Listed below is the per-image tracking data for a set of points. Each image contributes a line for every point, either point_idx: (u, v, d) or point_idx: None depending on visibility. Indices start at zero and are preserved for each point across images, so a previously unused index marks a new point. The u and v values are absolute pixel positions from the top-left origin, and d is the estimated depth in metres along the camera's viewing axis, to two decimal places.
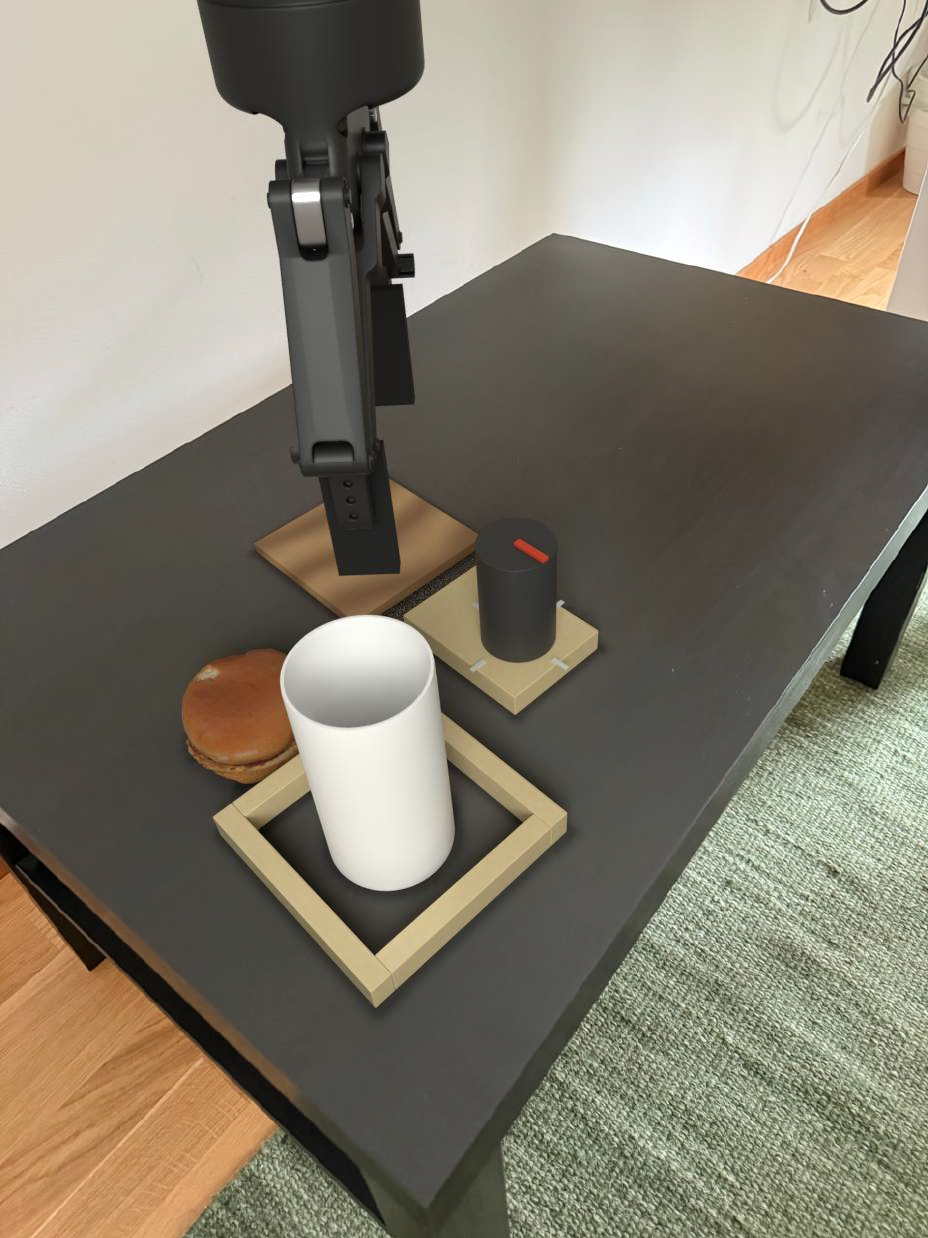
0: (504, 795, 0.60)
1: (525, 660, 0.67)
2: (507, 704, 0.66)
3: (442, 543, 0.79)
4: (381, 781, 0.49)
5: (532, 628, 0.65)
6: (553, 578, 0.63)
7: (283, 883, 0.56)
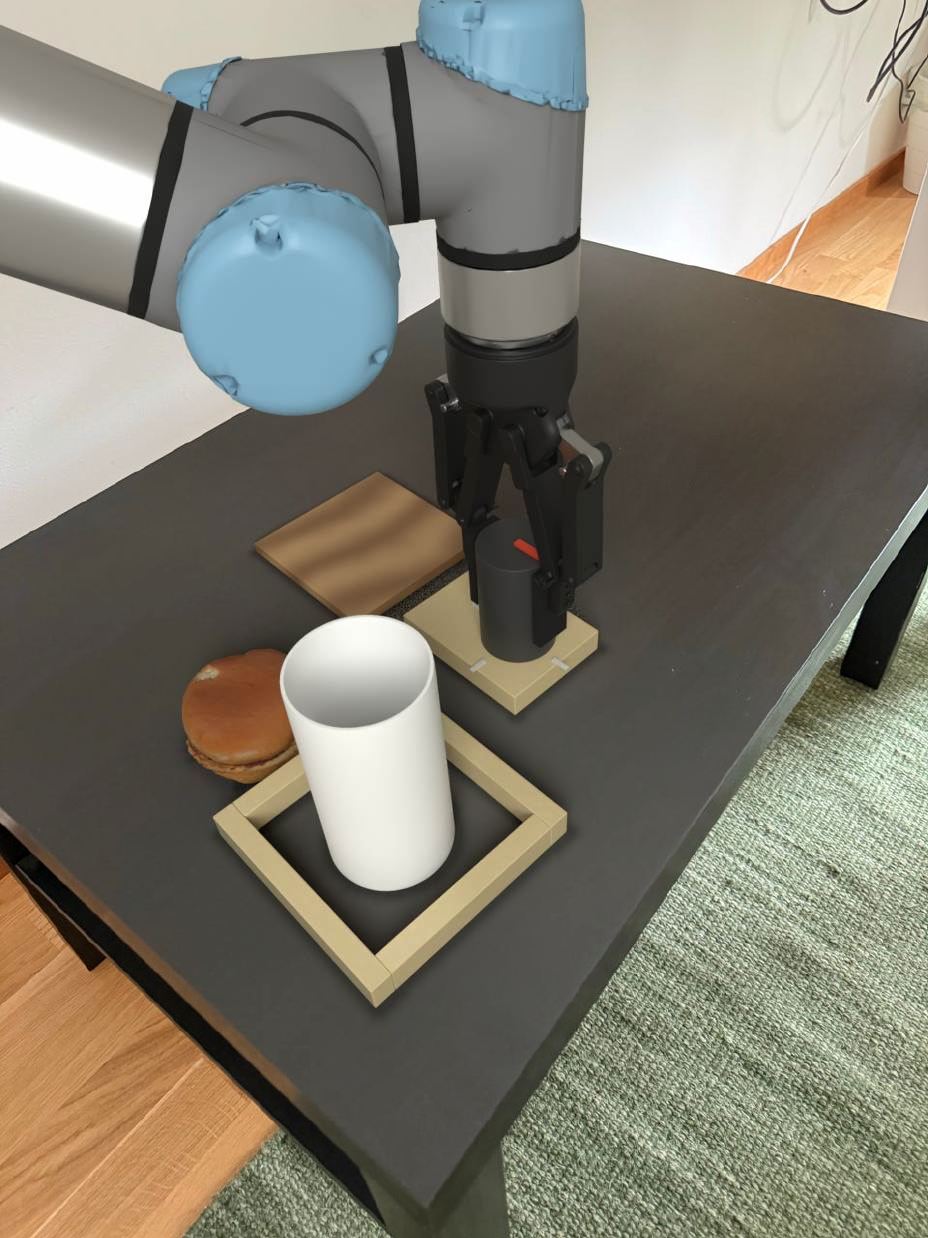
0: (504, 795, 0.60)
1: (525, 660, 0.67)
2: (507, 704, 0.66)
3: (442, 543, 0.79)
4: (380, 781, 0.49)
5: (532, 628, 0.65)
6: None
7: (283, 883, 0.56)
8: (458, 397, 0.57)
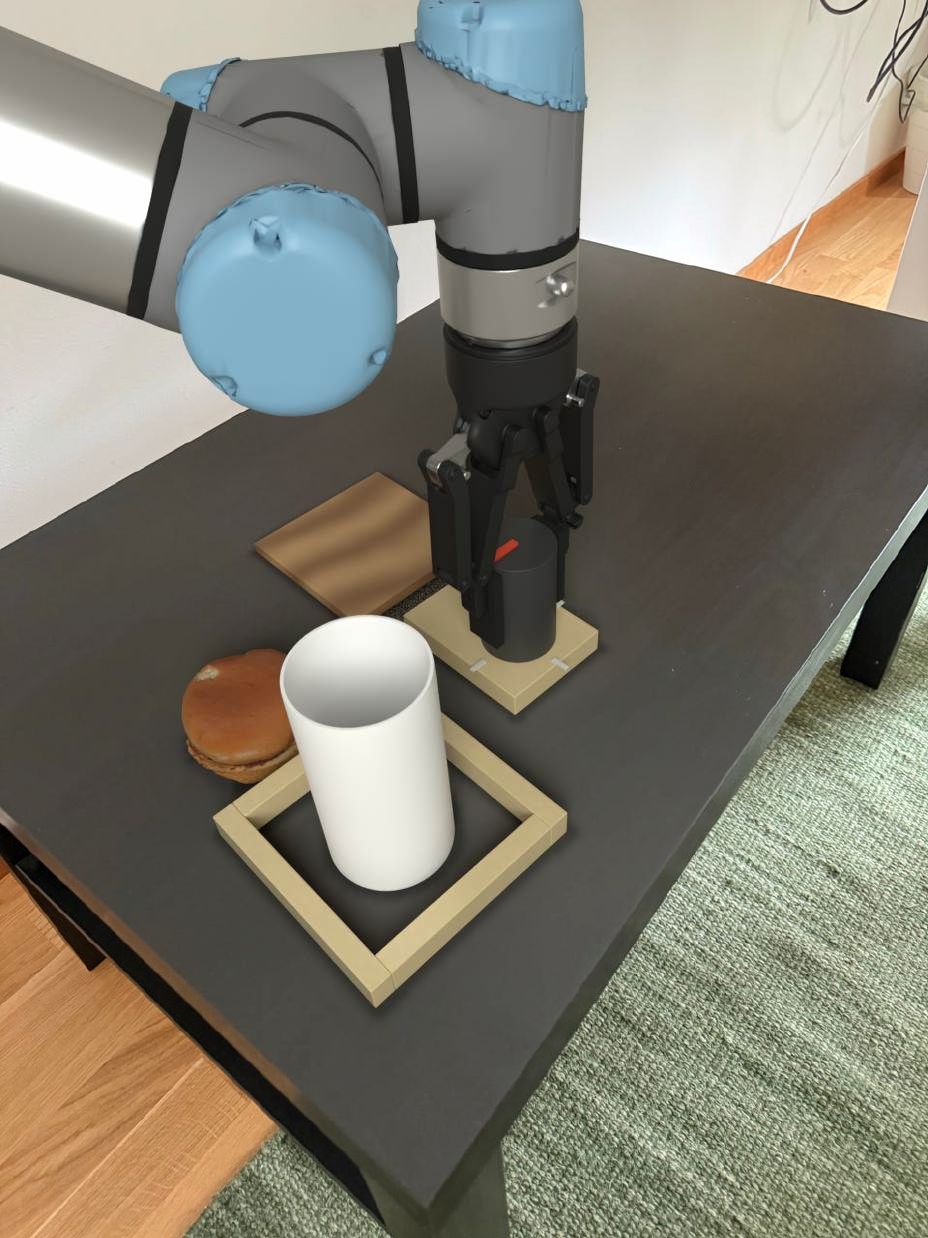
0: (504, 795, 0.60)
1: None
2: (507, 704, 0.66)
3: None
4: (380, 781, 0.49)
5: None
6: None
7: (283, 883, 0.56)
8: None
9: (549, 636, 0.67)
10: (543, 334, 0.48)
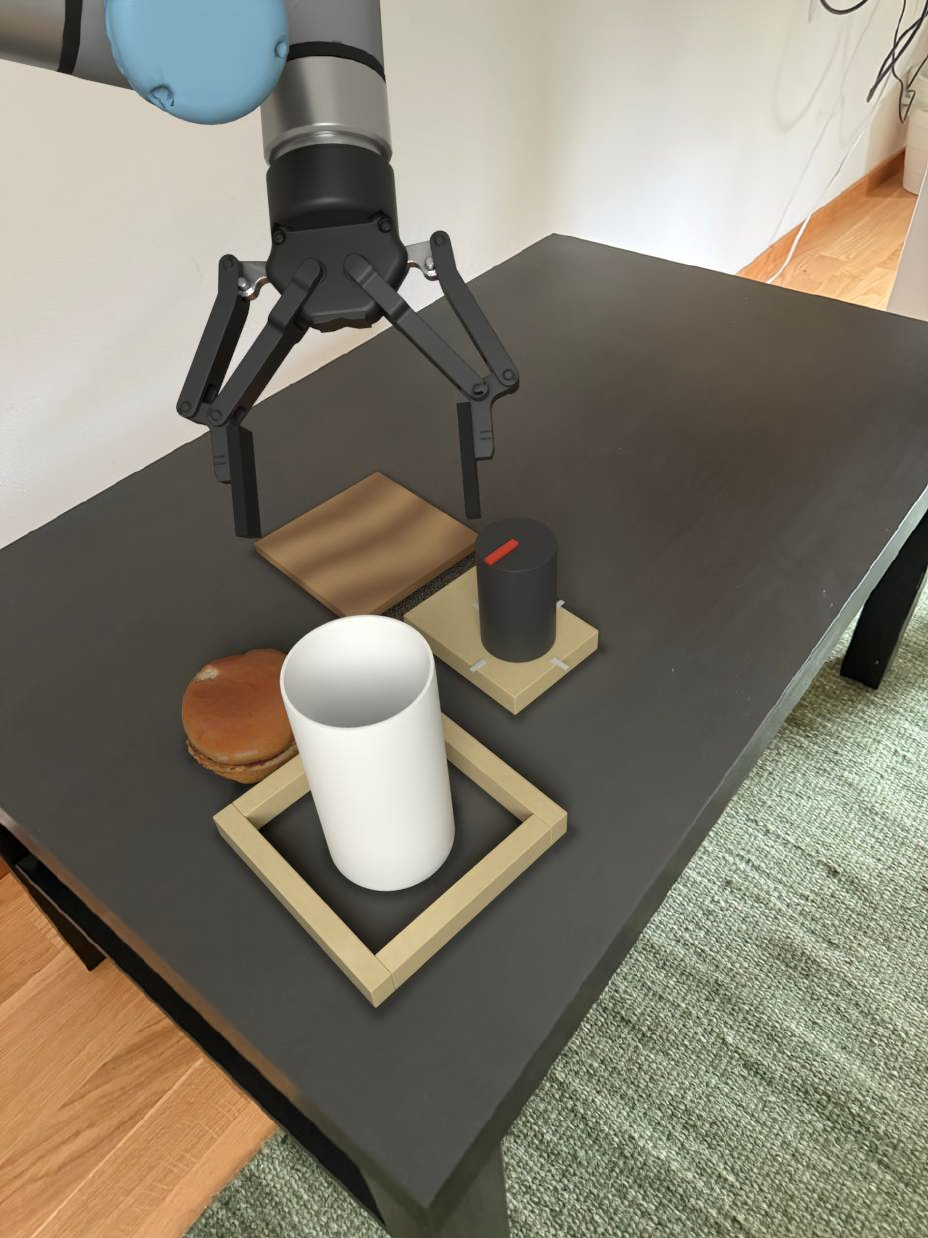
0: (504, 795, 0.60)
1: (481, 639, 0.69)
2: (507, 704, 0.66)
3: (442, 543, 0.79)
4: (380, 781, 0.49)
5: (481, 613, 0.66)
6: (499, 592, 0.63)
7: (283, 883, 0.56)
8: (274, 271, 0.54)
9: (549, 636, 0.67)
10: None
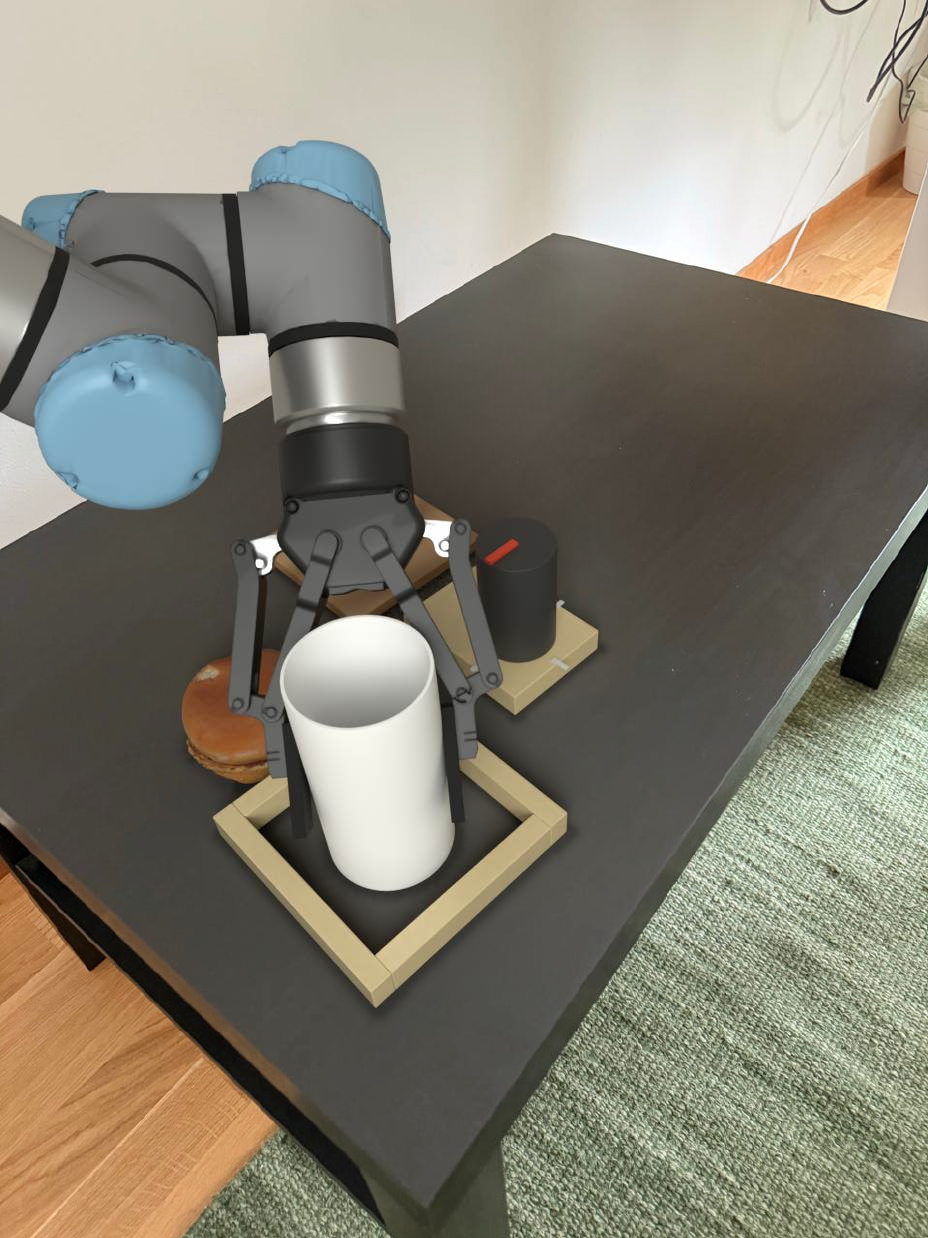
0: (504, 795, 0.60)
1: None
2: (507, 704, 0.66)
3: None
4: (380, 781, 0.49)
5: None
6: (499, 592, 0.63)
7: (283, 883, 0.56)
8: (286, 541, 0.52)
9: (549, 636, 0.67)
10: None
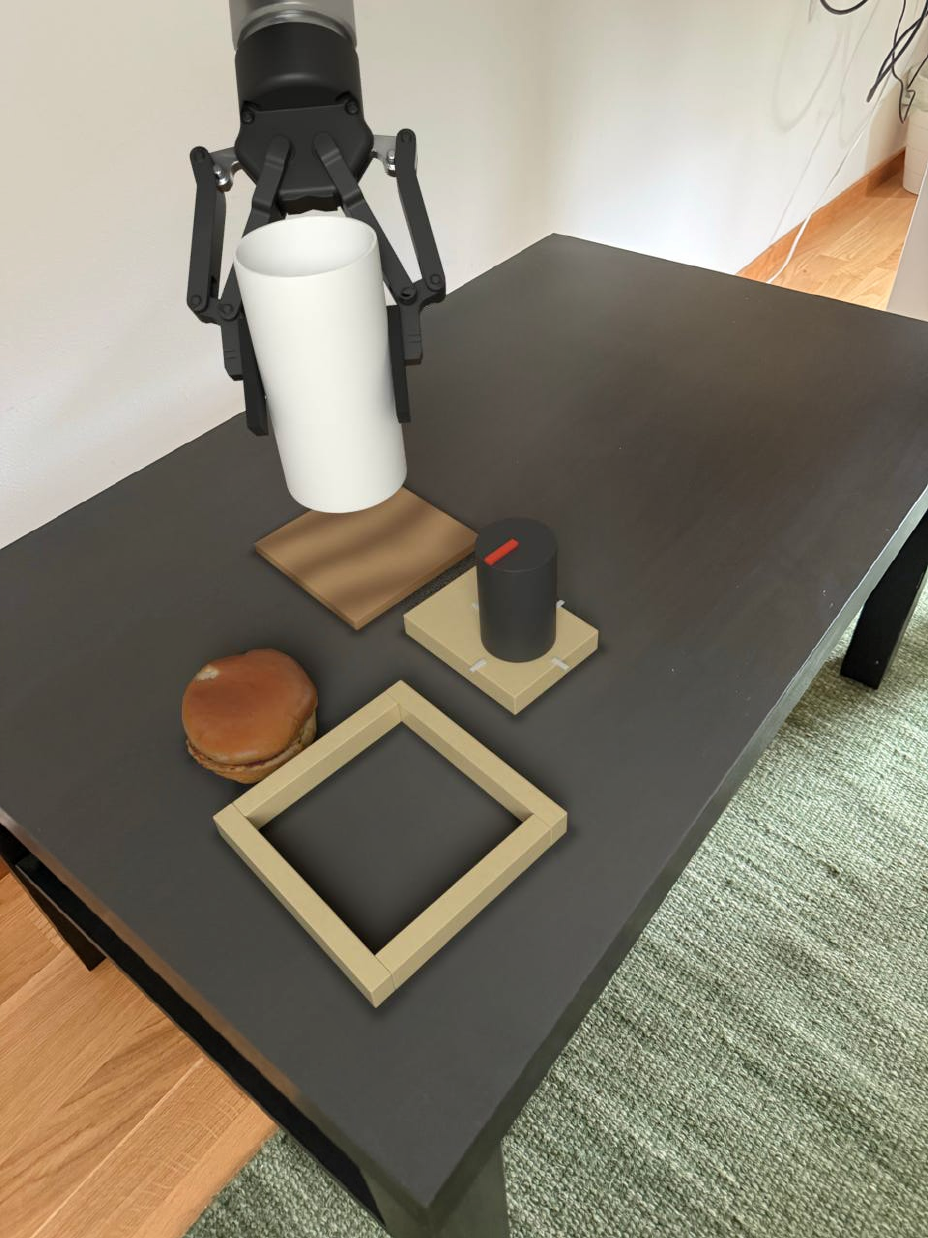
0: (504, 795, 0.60)
1: (481, 639, 0.69)
2: (507, 704, 0.66)
3: (442, 543, 0.79)
4: (327, 352, 0.52)
5: (481, 613, 0.66)
6: (499, 592, 0.63)
7: (283, 883, 0.56)
8: (243, 149, 0.56)
9: (549, 636, 0.67)
10: None
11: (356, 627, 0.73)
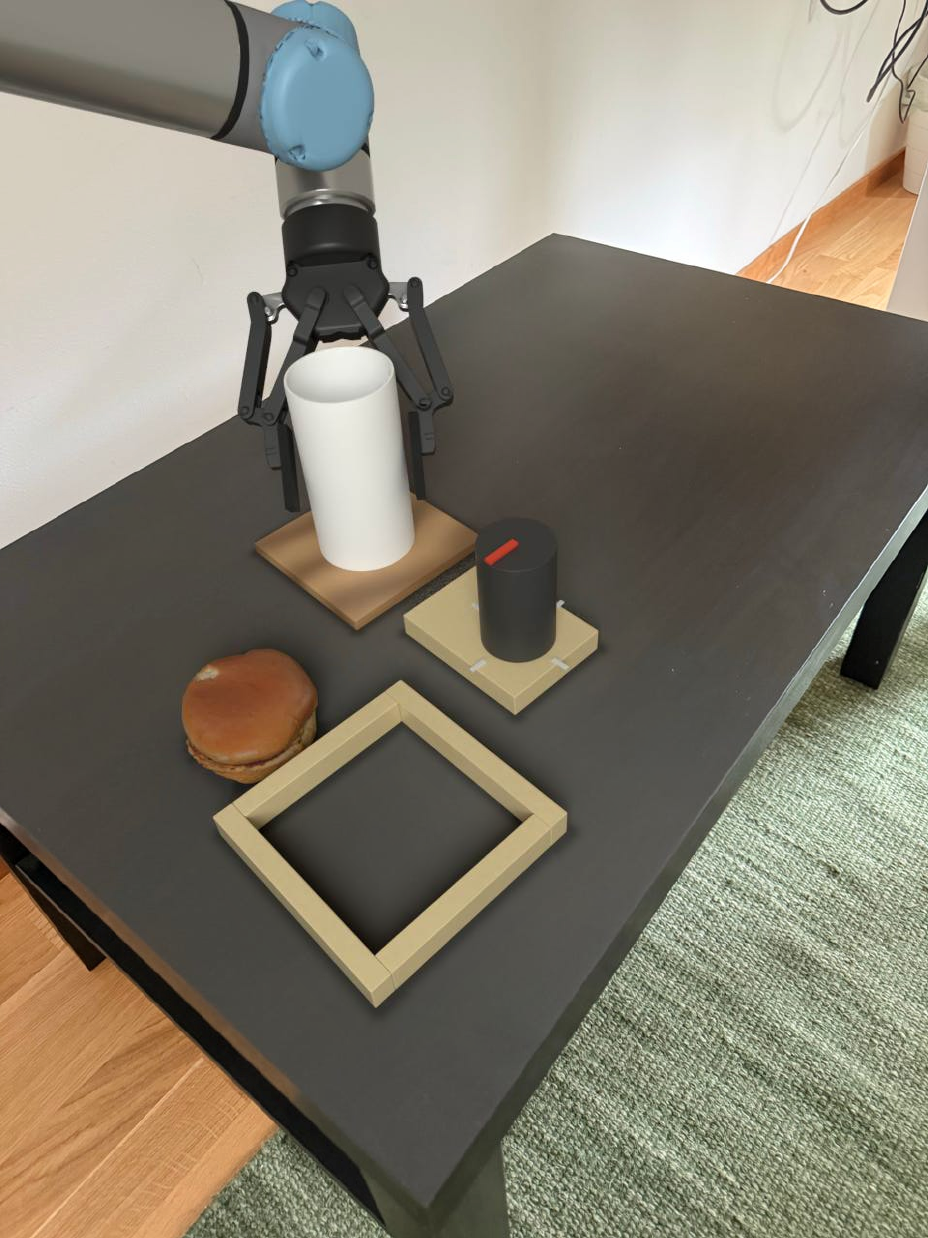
0: (504, 795, 0.60)
1: (481, 639, 0.69)
2: (507, 704, 0.66)
3: (442, 543, 0.79)
4: (356, 455, 0.69)
5: (481, 613, 0.66)
6: (499, 592, 0.63)
7: (283, 883, 0.56)
8: (288, 296, 0.72)
9: (549, 636, 0.67)
10: None
11: (356, 627, 0.73)
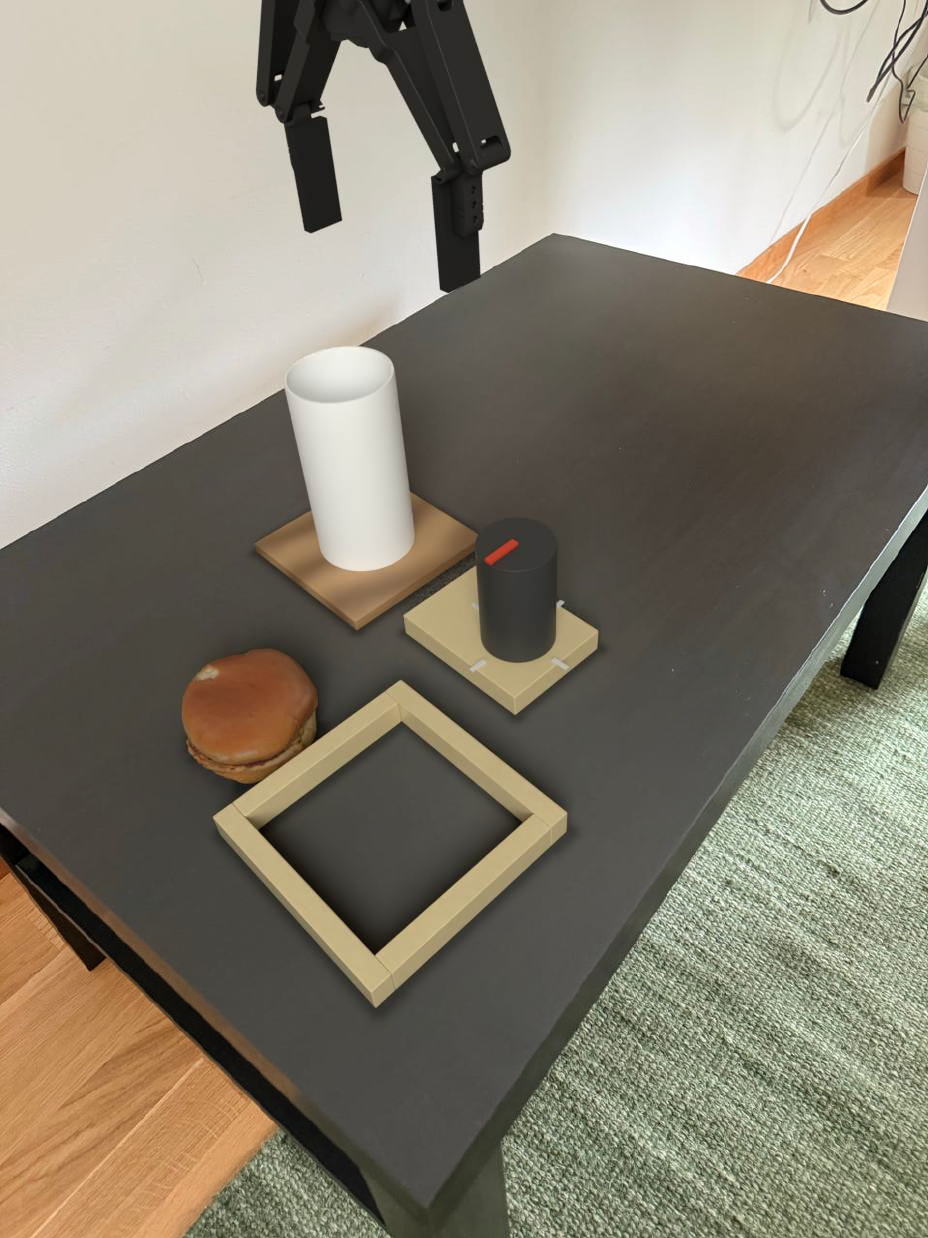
0: (504, 795, 0.60)
1: (481, 639, 0.69)
2: (507, 704, 0.66)
3: (442, 543, 0.79)
4: (356, 455, 0.69)
5: (481, 613, 0.66)
6: (499, 592, 0.63)
7: (283, 883, 0.56)
8: None
9: (549, 636, 0.67)
10: None
11: (356, 627, 0.73)
